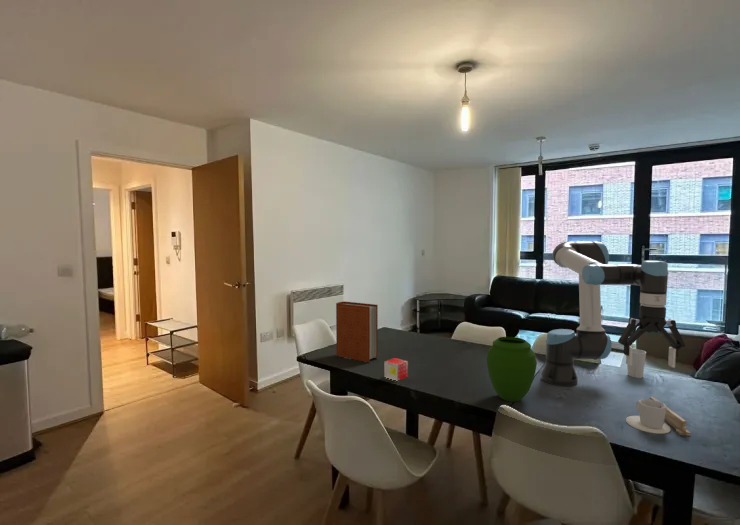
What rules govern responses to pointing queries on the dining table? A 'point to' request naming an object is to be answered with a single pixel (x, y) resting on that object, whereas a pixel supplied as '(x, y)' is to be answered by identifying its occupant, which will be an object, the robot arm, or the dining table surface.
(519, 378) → the vase
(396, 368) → the puzzle cube
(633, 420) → the coaster
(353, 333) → the book
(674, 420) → the rail
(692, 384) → the dining table surface
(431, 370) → the dining table surface
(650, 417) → the cup
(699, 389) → the dining table surface
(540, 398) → the dining table surface
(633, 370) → the cup
